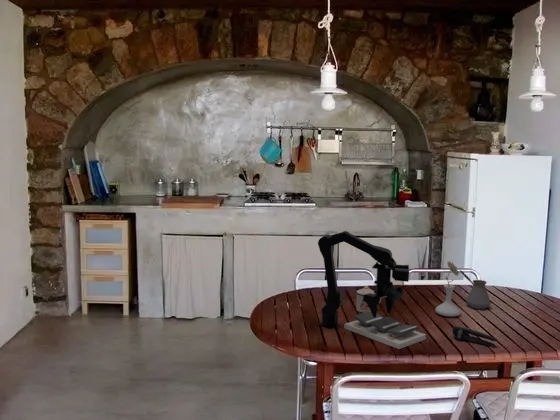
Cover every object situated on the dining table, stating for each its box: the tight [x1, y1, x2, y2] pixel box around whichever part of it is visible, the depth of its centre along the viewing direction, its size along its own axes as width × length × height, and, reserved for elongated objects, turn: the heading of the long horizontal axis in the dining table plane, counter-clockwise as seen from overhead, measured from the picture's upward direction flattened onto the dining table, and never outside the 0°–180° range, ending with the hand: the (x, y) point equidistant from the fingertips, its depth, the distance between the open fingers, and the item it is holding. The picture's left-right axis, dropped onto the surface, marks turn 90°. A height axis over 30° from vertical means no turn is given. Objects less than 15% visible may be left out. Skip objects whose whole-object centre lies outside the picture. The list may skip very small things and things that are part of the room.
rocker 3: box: [387, 324, 420, 335], centre depth 220 cm, size 12×7×1 cm, turn 130°
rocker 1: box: [353, 311, 384, 326], centre depth 234 cm, size 12×7×1 cm, turn 130°
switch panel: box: [343, 319, 427, 350], centre depth 227 cm, size 18×29×3 cm, turn 40°
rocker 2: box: [370, 316, 403, 331], centre depth 227 cm, size 12×7×1 cm, turn 130°
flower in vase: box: [435, 260, 462, 317], centre depth 253 cm, size 13×11×25 cm
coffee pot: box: [458, 270, 492, 310], centre depth 270 cm, size 21×12×15 cm, turn 19°
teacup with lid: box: [355, 285, 382, 314], centre depth 257 cm, size 12×9×12 cm
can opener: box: [452, 325, 498, 348], centre depth 219 cm, size 18×7×6 cm, turn 52°
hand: (381, 315), depth 228 cm, fingers open, 9 cm apart
